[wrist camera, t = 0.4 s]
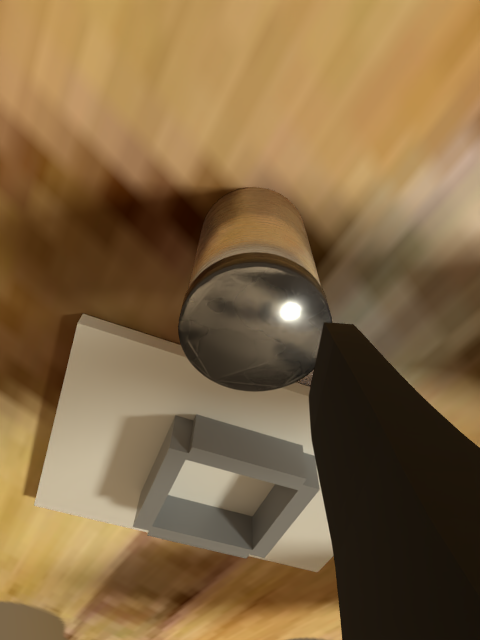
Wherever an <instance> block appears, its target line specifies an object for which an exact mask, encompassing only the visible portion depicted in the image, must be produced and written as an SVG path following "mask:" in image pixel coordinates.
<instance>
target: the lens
mask: <svg viewBox="0 0 480 640" xmlns="http://www.w3.org/2000/svg"><path fill="white" fill-rule="evenodd" d="M324 322H326V323H332V317H331V314H330V310H329V306H328V303H327V299H326V296H325V293H324V291H323V289H322V287H321V284H320V281H319V277H318V273H317V270H316V266H315V263H314V259H313V255H312V252H311V248H310V245H309V241H308V237H307V234H306V230H305V227H304V223H303V220H302V217H301V215H300V213H299V212H298V210H297V208H296V207H295V206H294V205H293V204H292V203H291V202H290V201H289V200H288V199H287V198H285V197H284V196H282V195H281V194H279V193H277V192H275V191H272V190H269V189H265V188H257V187H250V188H243V189H238V190H236V191H233V192H231V193H229V194H227V195H225V196H224V197H222V198H221V199H219V200H218V201H217V202H216V203H215V204H214V205H213V206H212V208H211V209H210V210H209V212H208V214H207V215H206V218H205V220H204V223H203V226H202V231H201V235H200V239H199V243H198V248H197V252H196V256H195V261H194V265H193V269H192V274H191V278H190V282H189V287H188V291H187V293H186V295H185V298H184V301H183V305H182V309H181V313H180V318H179V325H178V331H179V339H180V344H181V346H182V349H183V351H184V353H185V355H186V357H187V359H188V360H189V361H190V363H191V364H192V365H193V366H194V367H195V368H196V369H197V370H198V371H199V372H200V373H201V374H202V375H204V376H205V377H207V378H208V379H210V380H211V381H213V382H215V383H217V384H219V385H222V386H225V387H227V388H231V389H235V390H241V391H252V392H258V391H269V390H275V389H279V388H282V387H285V386H288V385H291V384H293V383H295V382H297V381H299V380H300V379H302V378H303V377H305V376H306V375H308V374H309V373H310V372H311V371H313V370H314V368H315V363H316V358H317V353H318V348H319V343H320V339H321V334H322V329H323V324H324Z"/></svg>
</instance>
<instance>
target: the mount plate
mask: <svg viewBox="0 0 480 640" xmlns="http://www.w3.org/2000/svg"><path fill="white" fill-rule="evenodd" d="M309 392H310V387H309V386H306V385H303V384H300V383H296V382H295V383H293V384H291V385H288V386H285V387H282V388H279V389H275V390H269V391H258V392H252V391H241V390H235V389H231V388H227V387H225V386H222V385H219V384H217V383H215V382H213V381H211V380H210V379H208V378H207V377H205V376H204V375H202V374H201V373H200V372H199V371H198V370H197V369H196V368H195V367H194V366H193V365H192V364H191V363H190V361H189V360H188V359H187V357H186V355H185V353H184V351H183V349H182V346H181V345H179V344H176V343H173V342H169V341H166V340H163V339H160V338H157V337H154V336H151V335H148V334H145V333H142V332H139V331H135V330H132V329H129V328H126V327H123V326H120V325H117V324H114V323H111V322H108V321H104V320H101V319H98V318H95V317H92V316H89V315H86V314H82V316H81V318H80V320H79V321H78V323H77V327H76V332H75V336H74V340H73V344H72V348H71V353H70V357H69V361H68V365H67V369H66V374H65V378H64V382H63V386H62V390H61V394H60V399H59V403H58V407H57V411H56V415H55V420H54V424H53V428H52V432H51V436H50V441H49V445H48V449H47V453H46V457H45V461H44V466H43V470H42V474H41V478H40V482H39V487H38V491H37V495H36V499H35V503H34V506H38V507H42V508H46V509H50V510H55V511H59V512H63V513H67V514H72V515H76V516H80V517H84V518H89V519H93V520H97V521H101V522H105V523H110V524H114V525H118V526H122V527H127V528H131V529H135V530H139V531H144V532H148V536H152V537H156V538H160V539H165V540H169V541H173V542H177V543H182V544H186V545H190V546H195V547H199V548H203V549H207V550H212V551H216V552H220V553H224V554H229V555H233V556H237V557H242V558H247V557H248V556H250V557H254V558H258V559H263V560H267V561H271V562H275V563H280V564H284V565H288V566H292V567H297V568H301V569H305V570H309V571H314V572H318V571H319V570H320V569H321V568H322V567H323V566H324V565H325V564H326V563H327V562H328V561H329V560H330V559H331V558H332V557H333V556H334V555H333V548H332V542H331V537H330V532H329V527H328V522H327V517H326V511H325V506H324V501H323V496H322V491H321V486H320V481H319V476H318V471H317V466H316V461H315V455H314V450H313V445H312V439H311V427H310V412H309Z"/></svg>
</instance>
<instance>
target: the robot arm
mask: <svg viewBox="0 0 480 640" xmlns="http://www.w3.org/2000/svg"><path fill="white" fill-rule="evenodd" d="M309 412H310V427H311V439H312V445H313V450H314V455H315V461H316V466H317V471H318V476H319V481H320V486H321V491H322V496H323V501H324V506H325V511H326V517H327V522H328V527H329V532H330V537H331V542H332V548H333V555H334V561H335V569H336V578H337V588H338V598H339V608H340V618H341V629H342V640H480V448H479V447H478V446H477V445H475V444H474V443H473V442H472V441H471V440H469V439H468V438H467V437H466V436H465V435H464V434H462V433H461V432H460V431H459V430H458V429H457V428H456V427H454V426H453V425H452V424H451V423H450V422H449V421H448V420H447V419H446V418H445V417H443V416H442V415H441V414H440V413H439V412H438V411H437V410H436V409H435V408H434V407H432V406H431V405H430V404H429V403H428V402H427V401H426V400H425V399H424V398H423V397H422V396H421V395H420V394H419V393H418V392H417V391H416V390H415V389H414V388H413V387H412V386H411V385H410V384H409V383H408V382H407V381H406V380H405V379H404V378H403V377H402V376H401V375H400V374H399V373H398V372H397V371H396V370H395V368H394V367H393V366H392V365H391V364H390V363H389V362H388V361H387V360H386V359H385V358H384V357H383V356H382V355H381V353H380V352H379V351H378V350H377V349H376V348H375V347H374V346H373V345H372V344H371V343H370V341H369V340H368V339H367V338H366V337H365V336H364V335H363V334H362V333H361V332H360V331H359V330H358V329H357V328H356V327H355V326H354V325H353V324H340V323H326V322H324V324H323V329H322V334H321V339H320V343H319V348H318V353H317V358H316V363H315V368H314V372H313V377H312V382H311V387H310V392H309Z"/></svg>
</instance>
